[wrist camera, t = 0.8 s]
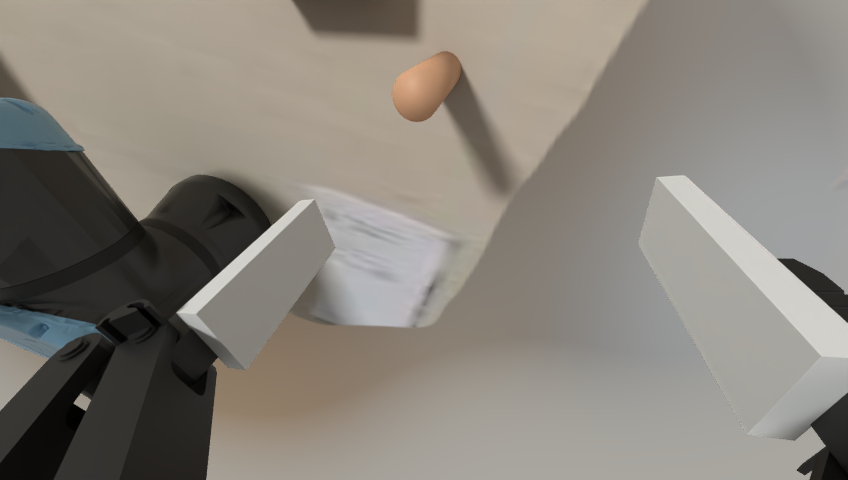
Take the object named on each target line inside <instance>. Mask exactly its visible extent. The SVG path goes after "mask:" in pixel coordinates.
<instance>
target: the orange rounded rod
mask: <svg viewBox="0 0 848 480" xmlns="http://www.w3.org/2000/svg"><path fill="white" fill-rule="evenodd" d="M460 76H461V64H460V61H459V60H458V58H457V57H456V56H455V55H454V54H453V53H450V52H440V53H438V54H436V55H434V56H433V57H431V58H429V59H427V60H425V61H424V62H422V63H420V64H418V65H416V66H415V67H413V68H411V69H409V70H407V71H406V72H404V73H402V74H401V75H400V76H399V77H398V78H397V80H396V81H395V83H394V86H393V91H392V97H393V102H394V105H395V107H396V109H397V111H398V112H399V113H400V114H401V115H402V116H403V117H404V118H406V119H407V120H410V121H414V122H421V121H424V120H426V119H428V118H430V117H431V116H432V115H433V114H434V112H435V111H436V110H437V108H438V107H439V106H440V104H441V103H442V102H443V101H444V99H445V98H446V97H447V95H448V94H449V93H450V91H451V90H452V89H453V87H454V86H455V85H456V83H457V82H458V81H459V79H460Z"/></svg>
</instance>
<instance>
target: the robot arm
mask: <svg viewBox="0 0 848 480" xmlns="http://www.w3.org/2000/svg"><path fill="white" fill-rule="evenodd" d="M83 151H85V150H84V148H83V147H82V146H80V145H78V144H76V143H75V142H74V141H73V139H72V138H71V137H70V136H69V135H68V134H67V133H66V132H65V130H64V129H63V128H62V127H61V126H60V125H59V124H58V122H57V121H56V120H55V119H54V118H53V117H52V116H51V115H50V114H49V113H48V112H47V111H46V110H44V109H43V108H41V107H40V106H38V105H36V104H34V103H31V102H29V101H25V100H22V99H16V98H0V338H1V339H4V340H6V341H8V342H10V343H12V344H14V345H16V346H19V347H21V348H23V349H25V350H28V351H30V352H33V353H35V354H38V355H40V356H43V357H46V358H48V359H49V360H48V361H47V362H46V363H45V364H44V365H43V366H42V367H41V368H40V369H39V370H38V371H37V372H36V373H35V375H34V376H33V377H32V378H31V379H30V380H29V381H28V382H27V383H26V384H25V385H24V386H23V387H22V388H21V390H20V391H19V392H18V393H17V394H16V395H15V396H14V397H13V398H12V399H11V400H10V401H9V402H8V403H7V404H6V406H5V407H4V408H3V409H2V410H1V411H0V480H206V476H207V466H208V456H209V446H210V436H211V425H212V416H213V406H214V396H215V386H216V376H217V372H216V368H215V367H214V366H213V365H212V364H213V362H214V361H215V360H216V359H217V358H219V359H220V360H221V361H222V362H223V363H224V364H225V365H226V366H227V367H228V368H234V369H242V370H247V368H248V367H249V366H250V364H251V363H252V361H253V360H254V359H255V357H256V356H257V355H258V353H259V352H260V350H261V349H262V348H263V346H264V345H265V344H266V342H267V341H268V339H269V338H270V337H271V335H272V334H273V333H274V331H275V330H276V328H277V327H278V326H279V324H280V323H281V322H282V320H283V319H284V318H285V316H286V315H287V314H288V312H289V311H290V309H291V308H292V307H293V305H294V304H295V303H296V301H297V300H298V299H299V297H300V296H301V294H302V293H303V292H304V290H305V289H306V288H307V286H308V285H309V283H310V282H311V281H312V279H313V278H314V277H315V275H316V274H317V273H318V271H319V270H320V268H321V267H322V266H323V264H324V263H325V262H326V260H327V259H328V258H329V256H330V255H331V253H332V252H333V251H334V249H335V245H334V243H333V241H332V238H331V236H330V234H329V232H328V229H327V227H326V225H325V222H324V220H323V218H322V215H321V213H320V211H319V208H318V206H317V204H316V201H315V199H312V200H300V201H299V202H298V203H297V204H296V205H294V206H293V207H292V208H291V209H290V210H289V211H288V212H287V213H286V214H285V215H283V216H282V217H281V218H280V219H279V220H278V221H277V222H276V223H275V224H273V225H272V226H270V224H269V222H268V220H267V218H266V216H265V215H264V213H263V212H262V211H261V209H260V208H259V207H258V206H257V205H256V203H255V202H254V201H253V200H252V199H251V198H249V197H248V196H247V195H246V194H245V193H244V192H242V191H241V190H239V189H238V188H237V187H235V186H233V185H232V184H230V183H228V182H226V181H224V180H221V179H219V178H216V177H212V176H207V175H195V176H191V177H189V178H187V179H185V180H183V181H181V182H179V183H177V184H176V185H174V186H173V187H172V188H171V189H170V190H169V192H168V193H167V194H166V195H165V197H164V198H163V199H162V200H161V201H160V202H159V203H158V204H157V206H156V207H155V208H154V209H153V210H152V212H151V213H150V214H149V215H148V216H147V217H146V218H144V219H143V220H141V221H139V222H138V220H137V219H136V218H135V217H134V215H133V214H132V213H131V212H130V210H129V209H128V208H127V207H126V205H125V204H124V203H123V202H122V200H121V199H120V198H119V197H118V195H117V194H116V193H115V191H114V190H113V189H112V188H111V186H110V185H109V184H108V183H107V181H106V180H105V179H104V178H103V176H102V175H101V174H100V173H99V171H98V170H97V169H96V168H95V166H94V165H93V164H92V163H91V161H90V160H89V159H88V158H87V156H86V155H85V154H84V153H83ZM638 245H639V247H640V248H641V250H642V252H643V253H644V255H645V257H646V259H647V261H648V262H649V264H650V266H651V268H652V269H653V271H654V273H655V275H656V276H657V278H658V280H659V282H660V283H661V285H662V287H663V289H664V290H665V292H666V294H667V296H668V297H669V299H670V301H671V303H672V304H673V306H674V308H675V309H676V311H677V313H678V315H679V316H680V318H681V320H682V322H683V324H684V325H685V327H686V329H687V331H688V332H689V334H690V336H691V338H692V340H693V341H694V343H695V345H696V346H697V348H698V350H699V351H700V354H701V355H702V357H703V359H704V361H705V362H706V364H707V366H708V367H709V369H710V371H711V373H712V375H713V376H714V378H715V380H716V381H717V383H718V385H719V387H720V388H721V390H722V392H723V394H724V395H725V397H726V399H727V401H728V402H729V404H730V406H731V408H732V410H733V411H734V413H735V415H736V416H737V418H738V420H739V422H740V423H741V425H742V427H743V429H744V430H745V432H746V434H747V435H755V436H763V437H770V438H778V439H787V440H796V439H797V438H798V437H799V436H801V435H802V434H803V433H804V432H805V431H806V430H808V429H809V428H810V427H811V426H812V428H813V429H814V430H815V432H816V433H817V434H818V436H819V437H820V438H821V440H822V441H823V443H824V444H825V445H826V447H824V448H823V449H822V450H820V451H819V452H818V453H816V454H815V455H814V456H812V457H811V458H810V459H808V460H807V461H806V462H804V463H803V464H802V465H801V466H800V467H799V468H798V469H797V471H799V472H800V473H802V474H803V475H806V474H807V473H809V472H810V471H812V473H811V477H810V480H848V295H845V294H844V291H843V290H842V289H841V288H840V287H839V286H837V285H836V284H835V283H834V282H833V281H831V280H830V279H829V278H828V277H827V276H825V275H824V274H823V273H821V272H819V271H817V270H815V269H813V268H811V267H809V266H807V265H805V264H803V263H801V262H799V261H797V260H795V259H776V258H775V257H774V256H773V255H772V254H771V253H770V252H769V251H767V250H766V249H765V248H764V247H763V246H762V245H761V244H760V243H758V242H757V241H756V240H755V239H754V238H753V237H752V236H751V235H750V234H749V233H748V232H746V231H745V230H744V229H743V228H742V227H741V226H740V225H739V224H738V223H736V222H735V221H734V220H733V219H732V218H731V217H730V216H729V215H728V214H726V212H724V211H723V210H722V209H721V208H720V207H719V206H718V205H717V204H716V203H714V202H713V201H712V200H711V199H710V198H709V197H708V196H707V195H706V194H705V193H703V192H702V191H701V190H700V189H699V188H698V187H697V186H696V185H694V183H692V182H691V181H690V180H689V179H688V178H687V177H686V176H685V175H683V176H666V177H657V178H656V181H655V185H654V189H653V192H652V196H651V199H650V203H649V206H648V210H647V214H646V217H645V221H644V224H643V228H642V232H641V235H640V239H639V243H638ZM80 393H82V394H83V395H85V396H86V397H88V398H89V399H91V402H90V404H89V406H88V408H87V410H86V411H85V410H83V409H81V408H80V407H78V406H76V405H75V404H73V403H74V401H75V400H76V398H77V397H78V396H79V395H80Z"/></svg>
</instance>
